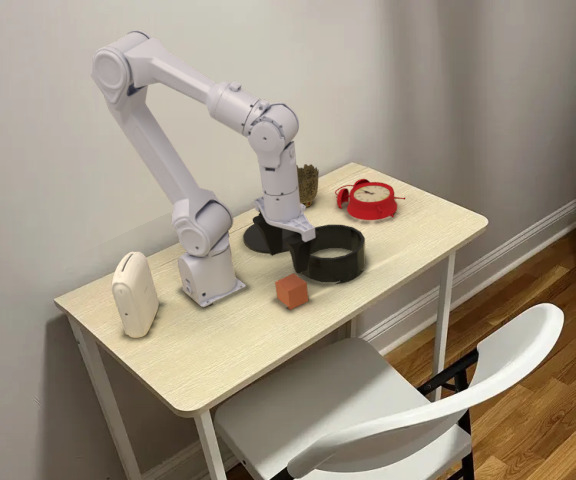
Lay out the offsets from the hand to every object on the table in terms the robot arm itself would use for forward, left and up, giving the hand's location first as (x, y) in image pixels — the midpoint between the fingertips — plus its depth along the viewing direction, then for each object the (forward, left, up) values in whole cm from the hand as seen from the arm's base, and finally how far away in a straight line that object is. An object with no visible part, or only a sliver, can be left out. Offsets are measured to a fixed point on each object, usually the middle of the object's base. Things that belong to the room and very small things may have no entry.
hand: (288, 261), depth 116 cm
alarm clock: (+31, +17, -8) cm, 36 cm away
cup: (+22, +27, -8) cm, 36 cm away
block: (0, 0, -8) cm, 8 cm away
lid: (+10, +20, -8) cm, 24 cm away
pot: (+12, +4, -8) cm, 15 cm away
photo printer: (-23, +13, -8) cm, 28 cm away
